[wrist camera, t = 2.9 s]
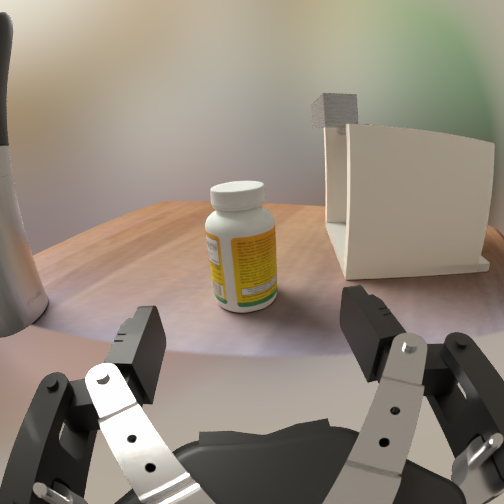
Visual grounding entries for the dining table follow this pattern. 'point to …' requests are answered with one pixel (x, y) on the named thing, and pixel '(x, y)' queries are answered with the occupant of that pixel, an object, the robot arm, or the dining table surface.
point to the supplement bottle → (242, 247)
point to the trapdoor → (335, 111)
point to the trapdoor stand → (406, 201)
